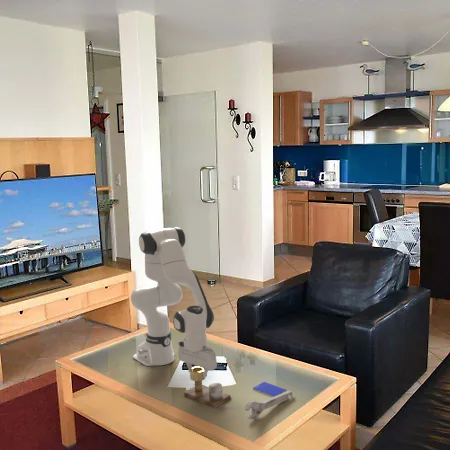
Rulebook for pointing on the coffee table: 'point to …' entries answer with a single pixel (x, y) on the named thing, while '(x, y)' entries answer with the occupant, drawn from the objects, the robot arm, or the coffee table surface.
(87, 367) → the coffee table surface
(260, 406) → the wrench
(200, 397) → the stub board
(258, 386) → the hard drive
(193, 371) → the ring
